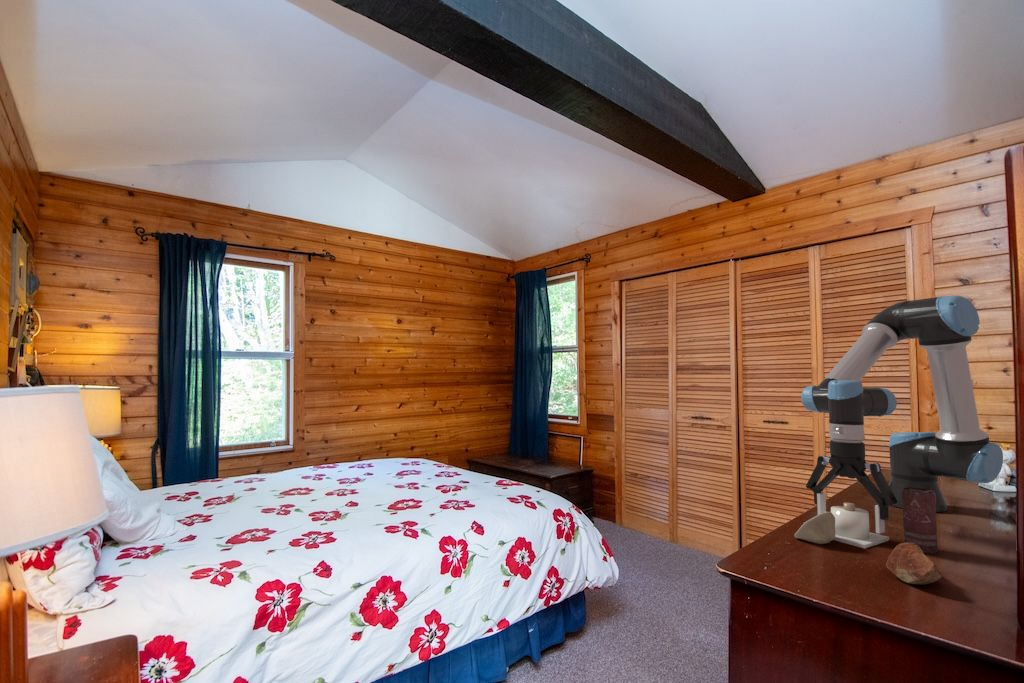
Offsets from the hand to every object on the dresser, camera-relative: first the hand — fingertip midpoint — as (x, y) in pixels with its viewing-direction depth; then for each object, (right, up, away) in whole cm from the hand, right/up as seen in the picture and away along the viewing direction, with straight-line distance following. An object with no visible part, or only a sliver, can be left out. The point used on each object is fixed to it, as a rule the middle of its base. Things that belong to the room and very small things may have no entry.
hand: (849, 525), depth 126 cm
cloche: (0, -2, 0) cm, 2 cm away
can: (+11, -3, -9) cm, 14 cm away
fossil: (-5, -2, -26) cm, 26 cm away
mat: (0, -3, 0) cm, 3 cm away
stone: (-11, -3, -3) cm, 12 cm away
